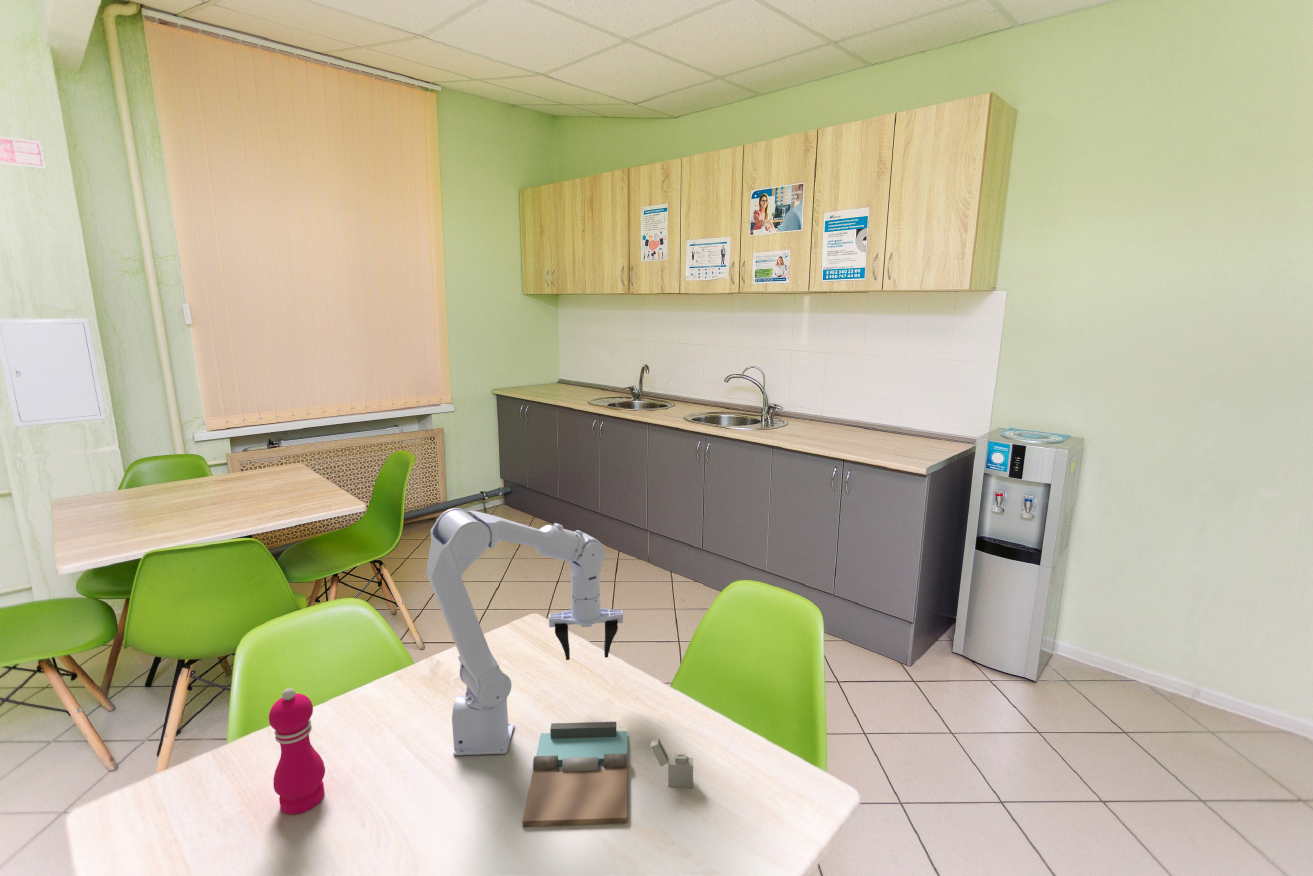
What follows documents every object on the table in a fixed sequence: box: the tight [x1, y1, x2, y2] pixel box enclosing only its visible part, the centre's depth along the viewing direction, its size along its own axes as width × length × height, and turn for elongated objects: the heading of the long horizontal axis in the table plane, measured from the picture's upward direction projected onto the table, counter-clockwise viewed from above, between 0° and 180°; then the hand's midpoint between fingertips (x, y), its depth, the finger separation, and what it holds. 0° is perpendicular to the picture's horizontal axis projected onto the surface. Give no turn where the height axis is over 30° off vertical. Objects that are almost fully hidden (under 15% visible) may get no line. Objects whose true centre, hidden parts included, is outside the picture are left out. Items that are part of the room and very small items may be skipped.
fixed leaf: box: [521, 752, 628, 828], centre depth 102 cm, size 16×13×2 cm
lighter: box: [650, 737, 694, 789], centre depth 103 cm, size 7×2×8 cm, turn 86°
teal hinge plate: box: [535, 721, 628, 772], centre depth 110 cm, size 16×10×3 cm, turn 93°
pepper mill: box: [268, 687, 326, 815], centre depth 99 cm, size 7×7×20 cm
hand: (587, 656), depth 125 cm, fingers open, 7 cm apart
